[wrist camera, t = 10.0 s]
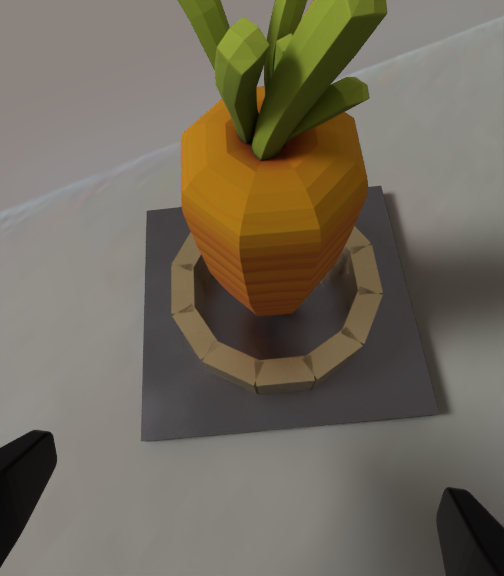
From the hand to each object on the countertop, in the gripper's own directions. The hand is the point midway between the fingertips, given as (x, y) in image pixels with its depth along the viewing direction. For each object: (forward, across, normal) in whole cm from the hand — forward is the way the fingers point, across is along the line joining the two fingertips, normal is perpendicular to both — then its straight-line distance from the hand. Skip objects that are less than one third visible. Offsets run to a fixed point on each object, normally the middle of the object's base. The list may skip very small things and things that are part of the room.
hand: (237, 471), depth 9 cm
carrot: (+11, 0, +1) cm, 11 cm away
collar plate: (+12, 0, +1) cm, 12 cm away
